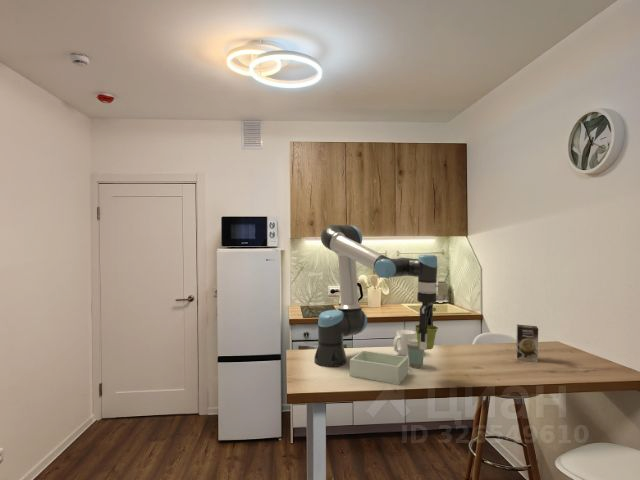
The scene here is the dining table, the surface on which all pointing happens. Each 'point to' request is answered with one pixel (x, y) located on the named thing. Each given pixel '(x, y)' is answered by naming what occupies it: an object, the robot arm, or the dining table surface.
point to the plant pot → (430, 335)
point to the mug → (403, 341)
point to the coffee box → (527, 343)
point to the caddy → (379, 367)
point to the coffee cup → (415, 353)
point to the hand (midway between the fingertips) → (425, 346)
